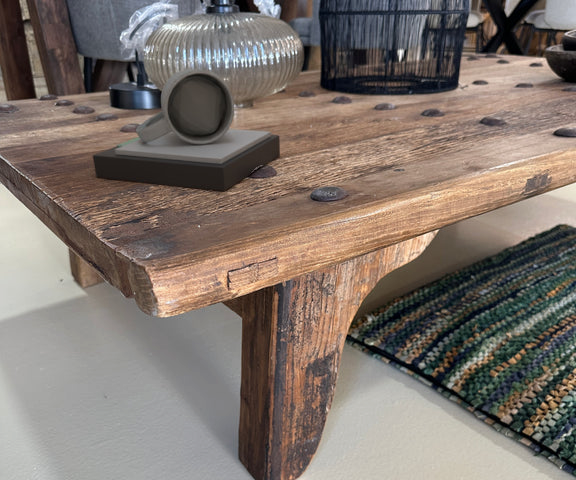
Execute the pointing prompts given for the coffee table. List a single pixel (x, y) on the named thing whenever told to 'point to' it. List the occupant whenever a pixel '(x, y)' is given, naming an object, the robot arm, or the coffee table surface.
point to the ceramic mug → (191, 108)
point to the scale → (189, 160)
